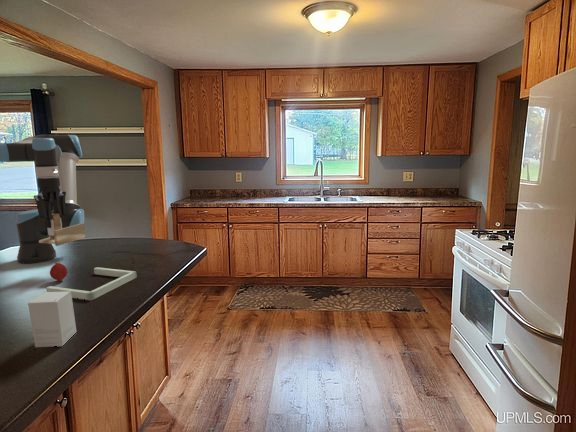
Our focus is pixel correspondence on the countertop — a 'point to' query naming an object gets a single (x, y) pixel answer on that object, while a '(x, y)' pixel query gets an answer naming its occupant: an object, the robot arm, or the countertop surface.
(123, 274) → the sage frame
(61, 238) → the wooden scraper
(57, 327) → the supplement box
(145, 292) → the countertop surface
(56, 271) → the red round fruit
